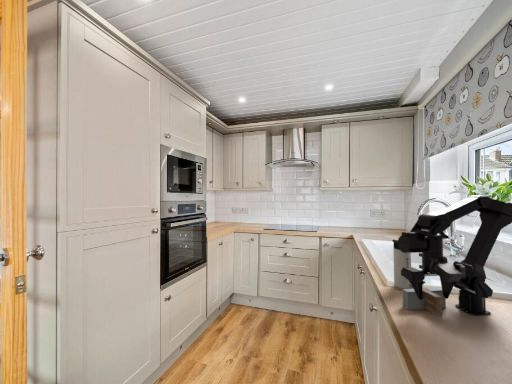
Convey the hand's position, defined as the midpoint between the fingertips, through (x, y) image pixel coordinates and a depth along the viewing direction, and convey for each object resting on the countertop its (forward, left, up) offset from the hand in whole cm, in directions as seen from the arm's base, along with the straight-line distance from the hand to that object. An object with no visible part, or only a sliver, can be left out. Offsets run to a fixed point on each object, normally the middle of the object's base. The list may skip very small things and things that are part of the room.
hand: (433, 298), depth 77 cm
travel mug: (-4, -20, -5) cm, 21 cm away
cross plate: (0, -4, -5) cm, 6 cm away
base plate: (0, -4, -5) cm, 6 cm away
